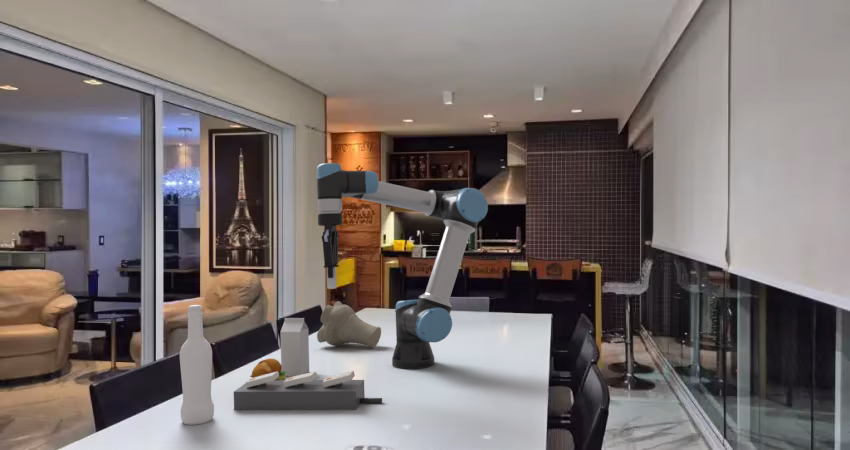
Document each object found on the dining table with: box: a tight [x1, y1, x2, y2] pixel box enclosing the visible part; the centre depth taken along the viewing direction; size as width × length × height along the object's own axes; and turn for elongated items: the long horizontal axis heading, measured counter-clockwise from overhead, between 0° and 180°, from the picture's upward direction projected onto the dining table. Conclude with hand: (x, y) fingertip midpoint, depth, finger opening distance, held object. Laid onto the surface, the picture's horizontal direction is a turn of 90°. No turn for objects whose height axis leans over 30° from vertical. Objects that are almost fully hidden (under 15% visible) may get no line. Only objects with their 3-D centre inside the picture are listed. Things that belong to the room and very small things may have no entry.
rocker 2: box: [284, 371, 318, 387], centre depth 167 cm, size 8×5×2 cm, turn 85°
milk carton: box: [280, 317, 310, 377], centre depth 202 cm, size 7×7×19 cm
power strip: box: [233, 379, 383, 411], centre depth 167 cm, size 40×12×6 cm, turn 85°
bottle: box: [179, 304, 215, 426], centre depth 154 cm, size 8×8×30 cm
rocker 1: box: [244, 371, 279, 388], centre depth 168 cm, size 8×5×2 cm, turn 85°
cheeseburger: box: [249, 358, 287, 380], centre depth 185 cm, size 10×11×10 cm
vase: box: [316, 300, 382, 349], centre depth 245 cm, size 22×22×28 cm
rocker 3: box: [322, 370, 356, 387], centre depth 166 cm, size 8×5×2 cm, turn 85°
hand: (331, 288), depth 186 cm, fingers closed
